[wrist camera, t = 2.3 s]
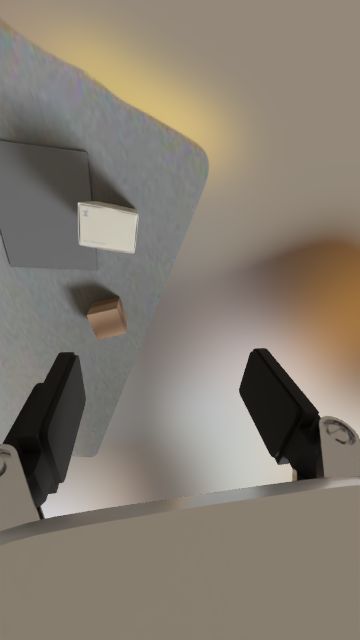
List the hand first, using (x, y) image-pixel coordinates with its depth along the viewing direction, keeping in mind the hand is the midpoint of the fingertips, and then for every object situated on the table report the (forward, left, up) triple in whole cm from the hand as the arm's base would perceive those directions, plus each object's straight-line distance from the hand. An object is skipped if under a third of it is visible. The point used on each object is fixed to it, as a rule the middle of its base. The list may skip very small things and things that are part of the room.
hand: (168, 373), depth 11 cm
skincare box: (-4, -5, -30) cm, 31 cm away
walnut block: (+12, -7, -30) cm, 33 cm away
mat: (-4, -15, -30) cm, 34 cm away
